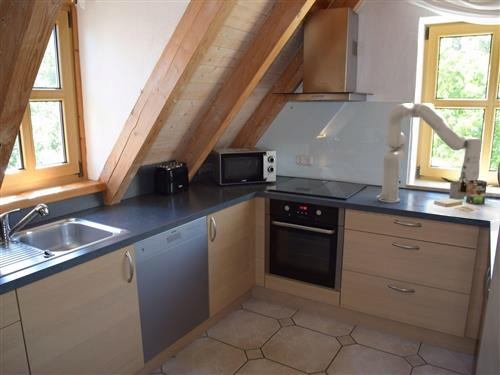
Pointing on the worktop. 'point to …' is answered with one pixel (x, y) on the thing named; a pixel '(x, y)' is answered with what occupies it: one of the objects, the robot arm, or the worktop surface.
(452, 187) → the cup
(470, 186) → the crate
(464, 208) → the pallet
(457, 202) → the block
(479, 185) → the coffee can
